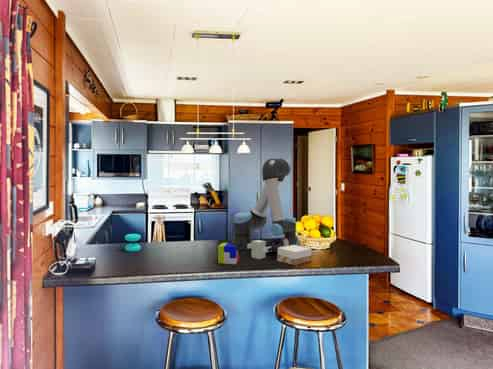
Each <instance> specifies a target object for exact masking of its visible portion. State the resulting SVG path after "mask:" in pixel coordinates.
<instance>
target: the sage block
mask: <svg viewBox="0 0 493 369" xmlns="http://www.w3.org/2000/svg"><path fill="white" fill-rule="evenodd" d="M266 241H267V240H260V239H256V240H252V249H251V253H250V254H251V258H252V259H257V260H262V259H265V258H266V254H267V252H265V253H263V248H265V247H266Z"/></svg>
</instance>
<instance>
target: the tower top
mask: <svg viewBox="0 0 493 369" xmlns="http://www.w3.org/2000/svg"><path fill="white" fill-rule="evenodd" d="M312 249H313V248H310V247H305V246H300V245H290V246H285V247H280V248H278V251H277V255H281V256H285V257H289V258H293V259H298V258H303V257H307V256H311V257H312V252H313V251H312Z"/></svg>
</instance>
